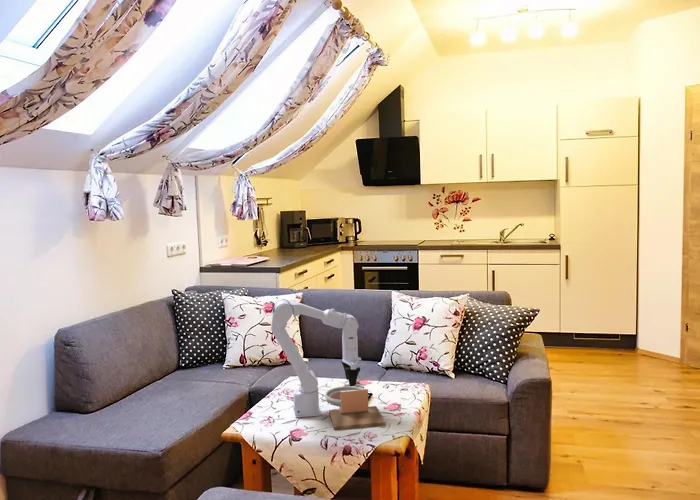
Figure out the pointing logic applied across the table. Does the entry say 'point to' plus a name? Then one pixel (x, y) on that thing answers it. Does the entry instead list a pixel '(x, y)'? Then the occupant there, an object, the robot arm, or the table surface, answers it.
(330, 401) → the frying pan
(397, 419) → the table surface
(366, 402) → the tile
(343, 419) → the board
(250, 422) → the table surface
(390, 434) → the table surface
